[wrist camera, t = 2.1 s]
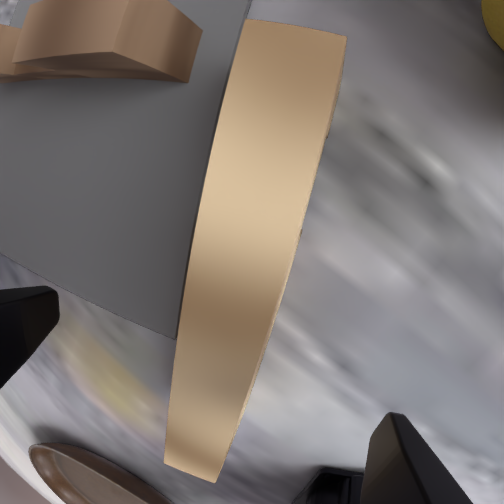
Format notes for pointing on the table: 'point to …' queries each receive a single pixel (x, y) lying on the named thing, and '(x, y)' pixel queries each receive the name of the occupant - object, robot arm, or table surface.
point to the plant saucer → (89, 477)
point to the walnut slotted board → (100, 41)
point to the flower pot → (494, 19)
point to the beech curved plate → (248, 230)
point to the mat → (115, 173)
